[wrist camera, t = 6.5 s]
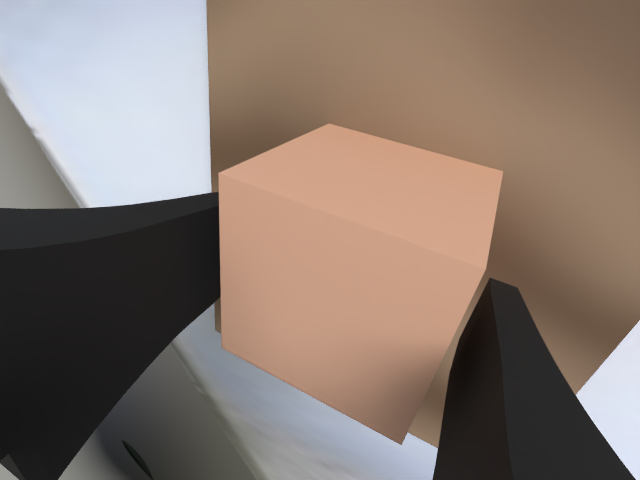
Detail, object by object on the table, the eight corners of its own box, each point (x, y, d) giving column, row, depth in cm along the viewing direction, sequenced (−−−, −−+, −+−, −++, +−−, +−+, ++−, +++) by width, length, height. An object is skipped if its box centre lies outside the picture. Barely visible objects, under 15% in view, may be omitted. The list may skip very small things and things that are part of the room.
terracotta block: (442, 312, 12) (401, 444, 8) (309, 257, 14) (221, 347, 10) (503, 171, 9) (485, 268, 5) (329, 123, 11) (218, 173, 7)
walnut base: (503, 447, 16) (500, 481, 14) (233, 312, 20) (215, 330, 19) (971, -152, 6) (1084, -199, 5) (239, -161, 10) (201, -187, 9)
